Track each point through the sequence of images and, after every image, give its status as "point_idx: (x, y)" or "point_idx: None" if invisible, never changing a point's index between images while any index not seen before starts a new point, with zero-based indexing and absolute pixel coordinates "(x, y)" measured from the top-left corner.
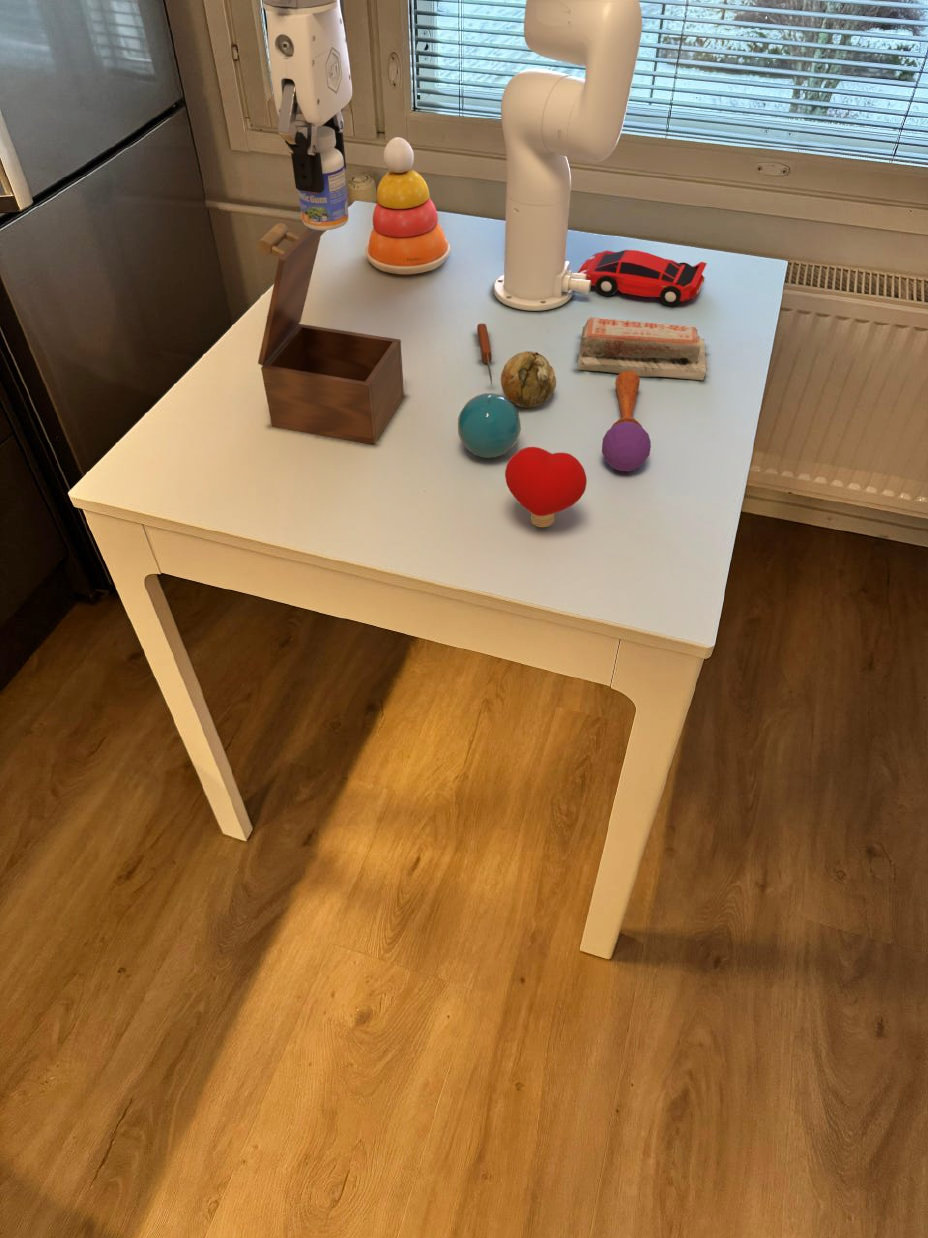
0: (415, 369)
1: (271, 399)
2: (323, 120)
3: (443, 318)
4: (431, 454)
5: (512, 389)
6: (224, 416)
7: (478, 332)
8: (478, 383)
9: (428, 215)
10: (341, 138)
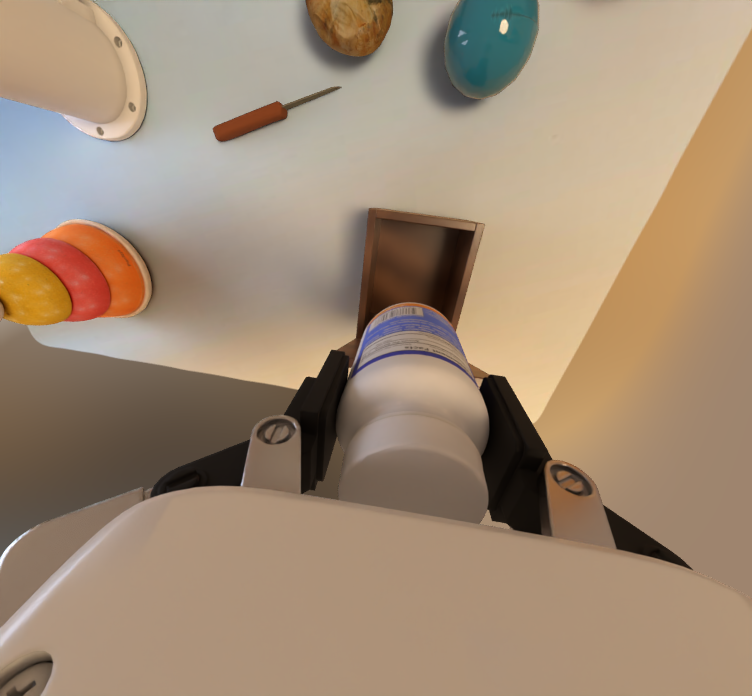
0: (321, 208)
1: None
2: (722, 591)
3: (209, 198)
4: (483, 145)
5: (386, 24)
6: None
7: (233, 135)
8: (331, 114)
9: (46, 248)
10: (323, 402)
